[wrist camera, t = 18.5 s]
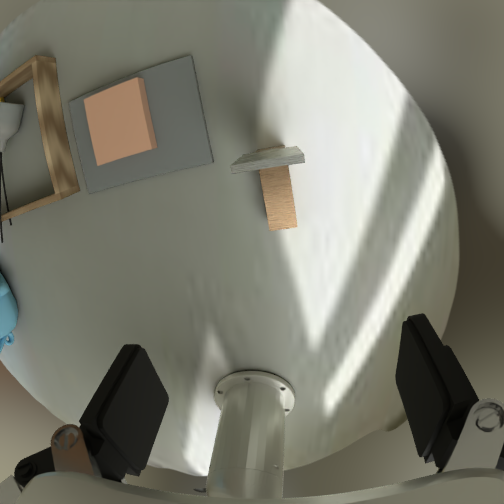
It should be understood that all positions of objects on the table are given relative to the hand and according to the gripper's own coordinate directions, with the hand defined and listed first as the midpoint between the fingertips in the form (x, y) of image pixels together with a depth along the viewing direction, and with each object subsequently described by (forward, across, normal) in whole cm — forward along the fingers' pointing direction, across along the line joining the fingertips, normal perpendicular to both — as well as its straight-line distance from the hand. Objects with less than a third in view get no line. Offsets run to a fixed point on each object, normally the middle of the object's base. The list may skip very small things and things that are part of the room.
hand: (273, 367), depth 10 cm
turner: (+19, 0, -5) cm, 19 cm away
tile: (+23, +15, -8) cm, 28 cm away
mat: (+24, +14, -11) cm, 30 cm away
